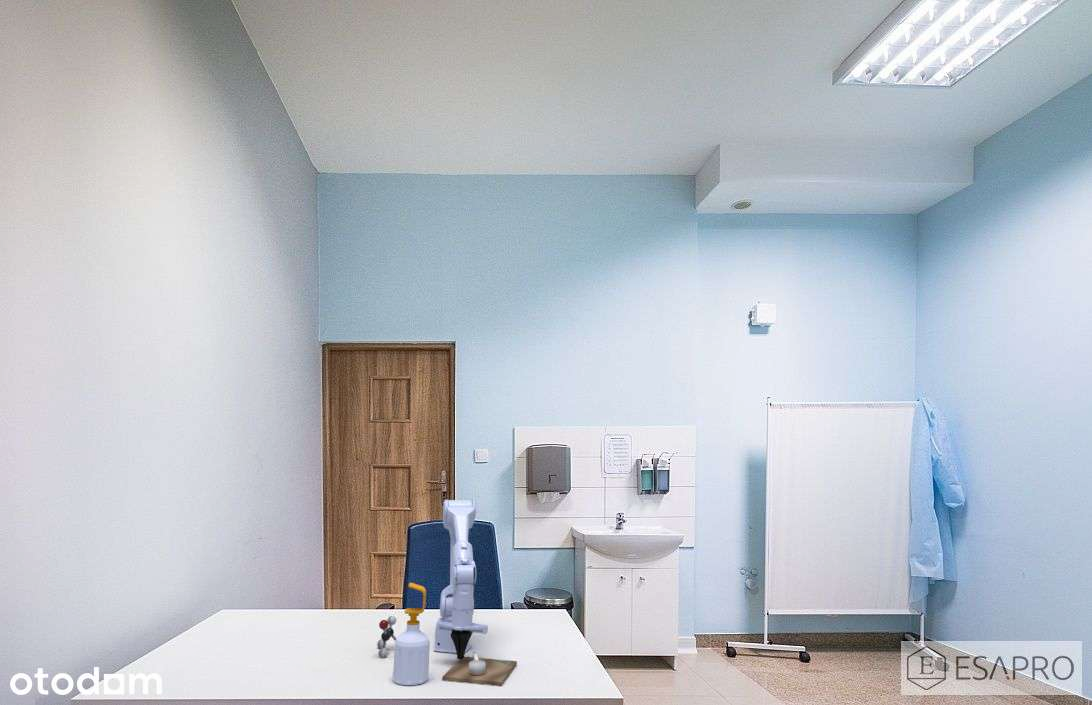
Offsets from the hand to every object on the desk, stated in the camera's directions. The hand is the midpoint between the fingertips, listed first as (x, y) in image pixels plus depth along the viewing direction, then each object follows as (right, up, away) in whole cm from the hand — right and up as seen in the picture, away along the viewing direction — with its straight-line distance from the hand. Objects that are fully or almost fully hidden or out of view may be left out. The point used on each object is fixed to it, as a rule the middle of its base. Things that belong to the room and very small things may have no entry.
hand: (460, 658), depth 204 cm
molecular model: (-23, -3, +9) cm, 25 cm away
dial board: (+6, -2, -5) cm, 8 cm away
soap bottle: (-12, 0, -13) cm, 18 cm away
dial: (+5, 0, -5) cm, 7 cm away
